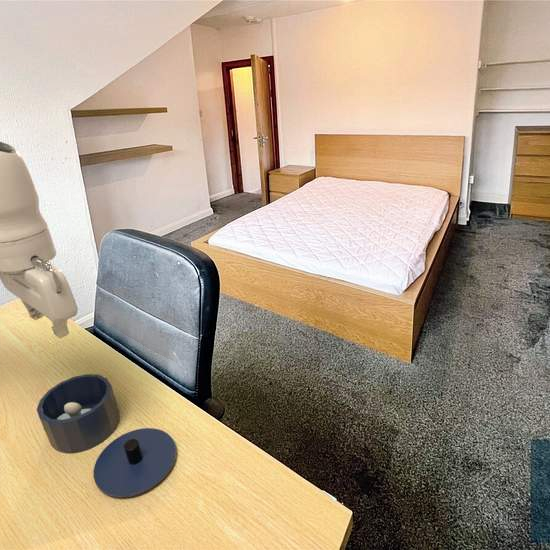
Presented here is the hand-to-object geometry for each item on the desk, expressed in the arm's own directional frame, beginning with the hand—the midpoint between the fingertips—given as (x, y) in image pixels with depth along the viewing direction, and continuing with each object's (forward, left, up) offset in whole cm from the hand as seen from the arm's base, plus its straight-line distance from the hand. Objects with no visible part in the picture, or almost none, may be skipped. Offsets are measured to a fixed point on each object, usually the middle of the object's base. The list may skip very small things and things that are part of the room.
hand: (49, 326), depth 69 cm
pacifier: (-1, +1, -23) cm, 23 cm away
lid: (+10, -12, -22) cm, 27 cm away
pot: (0, 0, -23) cm, 23 cm away
